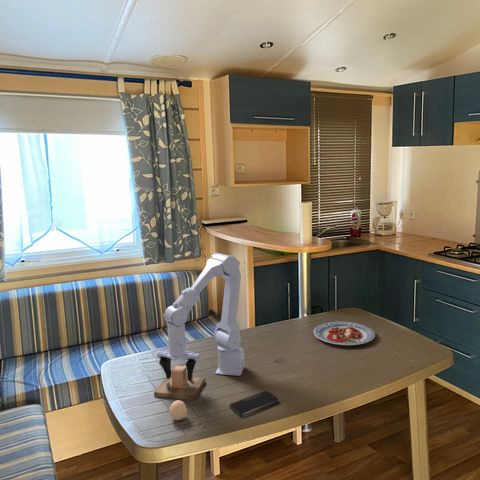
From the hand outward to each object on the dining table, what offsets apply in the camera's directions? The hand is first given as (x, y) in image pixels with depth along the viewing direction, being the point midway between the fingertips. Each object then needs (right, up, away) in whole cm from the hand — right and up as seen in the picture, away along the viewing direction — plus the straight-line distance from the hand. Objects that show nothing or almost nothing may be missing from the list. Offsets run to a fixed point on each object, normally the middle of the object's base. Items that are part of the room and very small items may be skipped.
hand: (179, 378), depth 149 cm
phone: (+25, -5, -11) cm, 28 cm away
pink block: (0, -2, 0) cm, 2 cm away
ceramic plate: (+66, +5, +40) cm, 77 cm away
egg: (+2, -7, -17) cm, 18 cm away
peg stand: (0, -4, +1) cm, 4 cm away
